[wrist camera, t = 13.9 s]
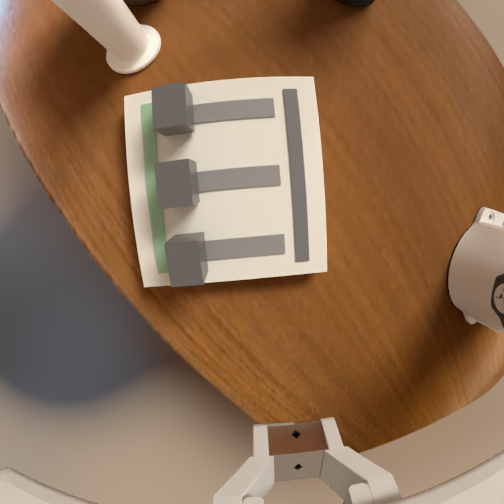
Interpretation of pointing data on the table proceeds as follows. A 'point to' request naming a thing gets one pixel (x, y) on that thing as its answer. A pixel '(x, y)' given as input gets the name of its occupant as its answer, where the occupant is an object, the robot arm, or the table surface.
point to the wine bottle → (358, 2)
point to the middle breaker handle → (177, 183)
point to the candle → (115, 32)
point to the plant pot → (137, 2)
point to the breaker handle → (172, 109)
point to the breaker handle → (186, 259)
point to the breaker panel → (235, 179)
